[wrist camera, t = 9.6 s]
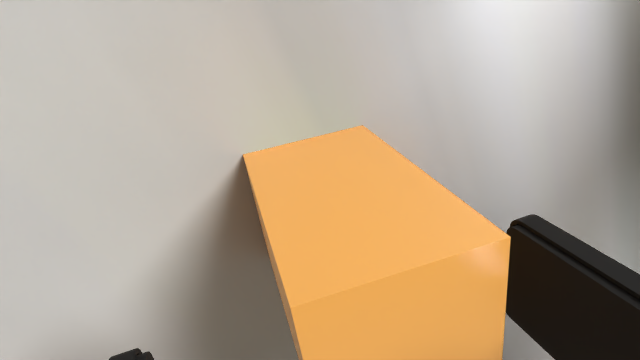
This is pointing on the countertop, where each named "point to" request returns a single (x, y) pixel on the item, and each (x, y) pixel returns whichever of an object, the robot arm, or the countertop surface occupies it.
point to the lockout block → (377, 254)
